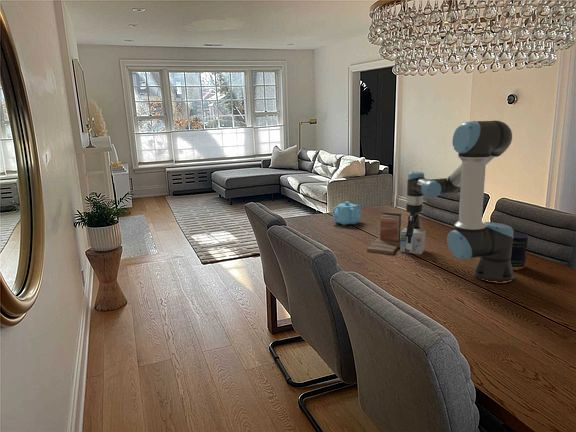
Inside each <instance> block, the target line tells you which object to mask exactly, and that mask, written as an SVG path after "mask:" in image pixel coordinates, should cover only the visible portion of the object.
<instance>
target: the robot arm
mask: <svg viewBox="0 0 576 432" xmlns="http://www.w3.org/2000/svg"><path fill="white" fill-rule="evenodd" d="M451 141H452V147H453V149H454V151H455V152H456V153H457V155H458V156H457V157H458V158H459V159H460V160H461V164H460V165H459V166H458V167H457V168H455V170H454V171H453V172H452V173H451V174H450V175H449V176H448V177H445V178H443V177H442V178H432V179H429V178H425V173H424V172H422V171H409V172H408V174H407V181H406V182H407V184H406V186H407V188H406V191H407V192H406V196H405V198H406V209H405V210H406V212H407V213H409V214H410V215H408V216H407V217H408V220H407V226H406V228H407V232H406V235H405V236H407V244H406V249H410V250H412V244H413V230H414V229H417V230H421V225H420V213H422V212H423V203H424V196H425V197H427V198H437V197H438V196H442V195H457V194H459V208H458V219H457V221H456V222H455V223H454V227H453V230H451V231H449V233H448V234H447V238H446V241H447V245H448V249H449V251H450V252H451V253H450V254H452V255H453V256H454V257H455V258H457V259H460V260H461V259H466V260H468V259H469V260H470V259H473V258H479V259H478V261H477V263H476V266H475V267H474V271H473V275H475V276H476V277H478V278H480V279H484V280H488V281H497V282H503V281H509V280H512V279H513V280H514V278H515V275H514V270H513V269H512V265H511V253H512V245H513V238H514V237H513V232H514V229H513V227H512V226H510V225H507V224H504V223H501V222H500V223H499V222H493V221H482V220H483V211H484V209H483V208H484V193H485V180H486V166H487V165H488V164H489V163H490V162H492V161H493V160H494V158H498V157H500V156H502V155H503V154H504V153H505V152H506V151H507V150H508V149H509V147H510V145H511V144H512V141H513V132H512V129H511V128H510V126H509V125H508V124H506V123H505V122H504V121H500V120H479V121H478V120H477V121H476V120H472V121H465V122H462V123H460V124H459V125H458V127H456V128H455V130H454V133H453V135H452V140H451ZM475 276H474V277H475ZM476 277H475V278H476Z"/></svg>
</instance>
